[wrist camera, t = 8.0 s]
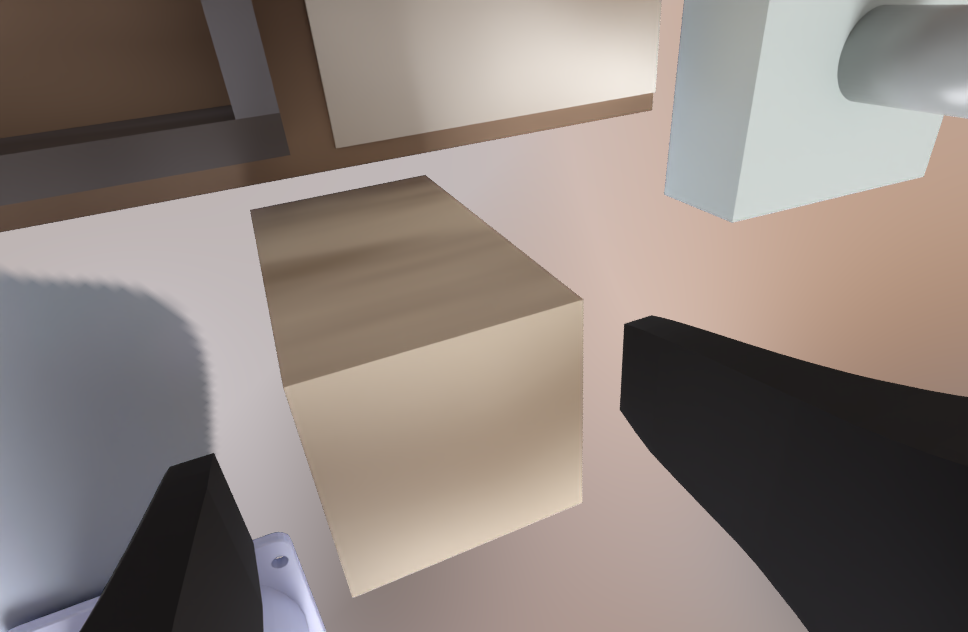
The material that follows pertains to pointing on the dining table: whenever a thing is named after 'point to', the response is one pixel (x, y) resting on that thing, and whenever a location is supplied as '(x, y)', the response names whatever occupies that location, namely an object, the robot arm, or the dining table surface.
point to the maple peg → (421, 373)
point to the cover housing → (810, 99)
